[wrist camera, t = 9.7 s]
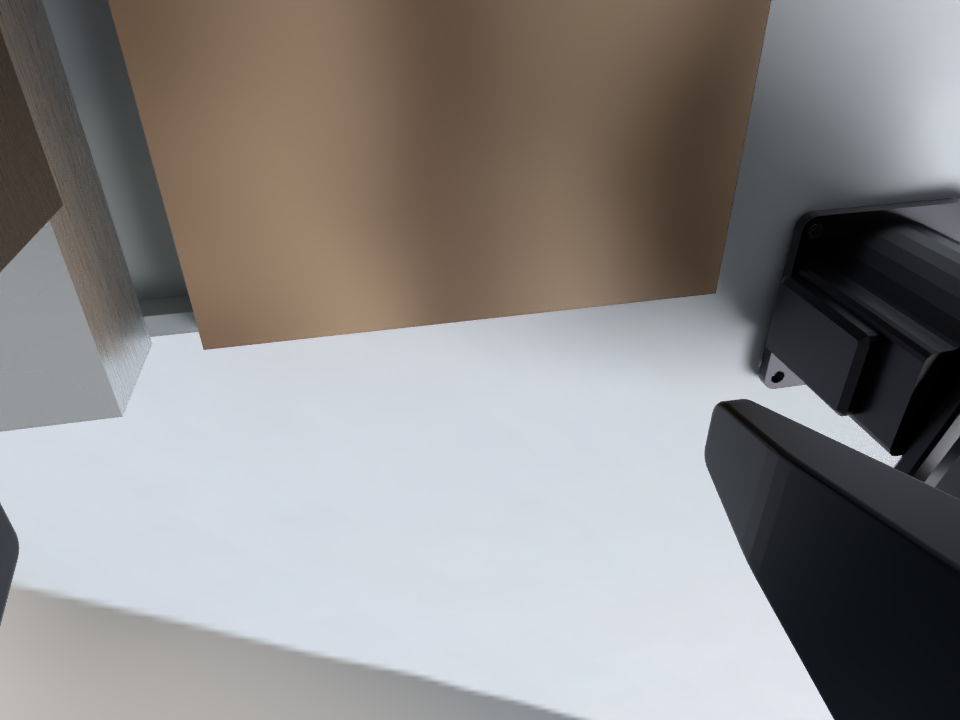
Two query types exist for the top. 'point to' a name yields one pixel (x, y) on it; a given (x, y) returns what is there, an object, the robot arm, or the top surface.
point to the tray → (122, 159)
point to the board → (439, 154)
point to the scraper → (56, 248)
